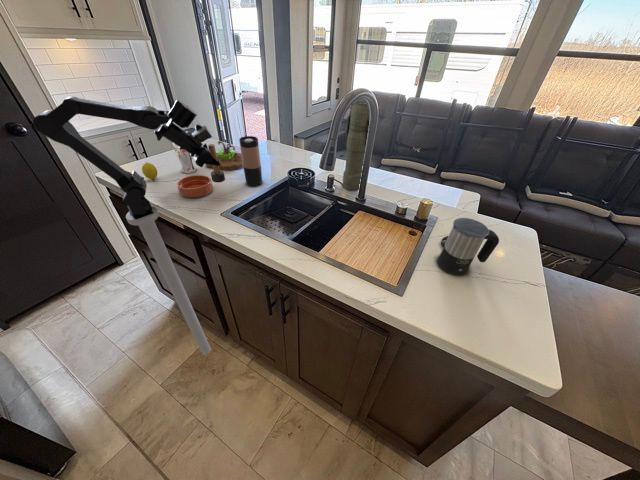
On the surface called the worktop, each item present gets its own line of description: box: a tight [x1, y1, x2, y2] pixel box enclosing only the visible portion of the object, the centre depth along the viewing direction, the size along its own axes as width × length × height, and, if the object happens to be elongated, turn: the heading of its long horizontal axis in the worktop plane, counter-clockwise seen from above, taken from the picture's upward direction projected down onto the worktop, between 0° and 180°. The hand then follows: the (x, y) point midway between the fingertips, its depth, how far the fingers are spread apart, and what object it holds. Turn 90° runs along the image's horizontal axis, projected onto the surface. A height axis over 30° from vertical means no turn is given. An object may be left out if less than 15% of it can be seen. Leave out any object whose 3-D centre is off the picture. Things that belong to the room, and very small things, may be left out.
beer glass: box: [172, 143, 197, 174], centre depth 120 cm, size 7×7×15 cm
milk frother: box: [436, 217, 500, 276], centre depth 78 cm, size 14×16×15 cm
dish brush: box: [207, 143, 226, 183], centre depth 99 cm, size 5×5×14 cm
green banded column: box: [342, 101, 370, 192], centre depth 108 cm, size 9×12×35 cm
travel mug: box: [238, 135, 263, 188], centre depth 111 cm, size 8×8×20 cm
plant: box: [205, 140, 244, 171], centre depth 131 cm, size 20×20×11 cm
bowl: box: [176, 174, 214, 199], centre depth 108 cm, size 13×13×4 cm
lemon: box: [141, 161, 158, 181], centre depth 113 cm, size 6×6×8 cm
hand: (219, 163), depth 100 cm, fingers closed on dish brush, 2 cm apart
